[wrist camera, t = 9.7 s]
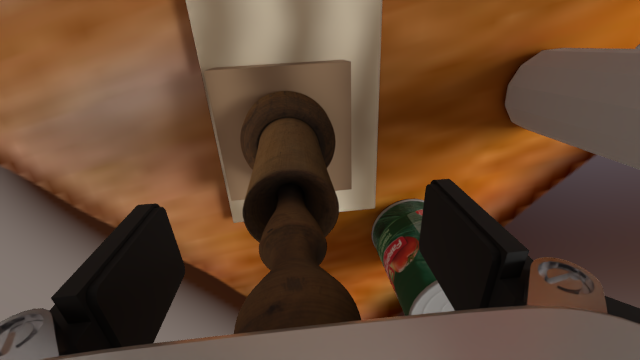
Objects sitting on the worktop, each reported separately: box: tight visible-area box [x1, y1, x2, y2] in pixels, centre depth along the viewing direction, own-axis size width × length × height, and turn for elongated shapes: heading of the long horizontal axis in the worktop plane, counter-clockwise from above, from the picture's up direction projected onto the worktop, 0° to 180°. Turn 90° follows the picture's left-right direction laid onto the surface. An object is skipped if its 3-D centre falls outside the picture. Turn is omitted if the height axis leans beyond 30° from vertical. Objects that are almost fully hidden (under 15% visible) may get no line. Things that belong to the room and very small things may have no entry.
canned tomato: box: [372, 199, 455, 316], centre depth 27 cm, size 8×8×11 cm
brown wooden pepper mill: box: [234, 91, 361, 334], centre depth 14 cm, size 7×6×18 cm
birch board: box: [186, 0, 382, 223], centre depth 25 cm, size 14×20×1 cm
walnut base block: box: [204, 60, 352, 201], centre depth 23 cm, size 10×10×3 cm
